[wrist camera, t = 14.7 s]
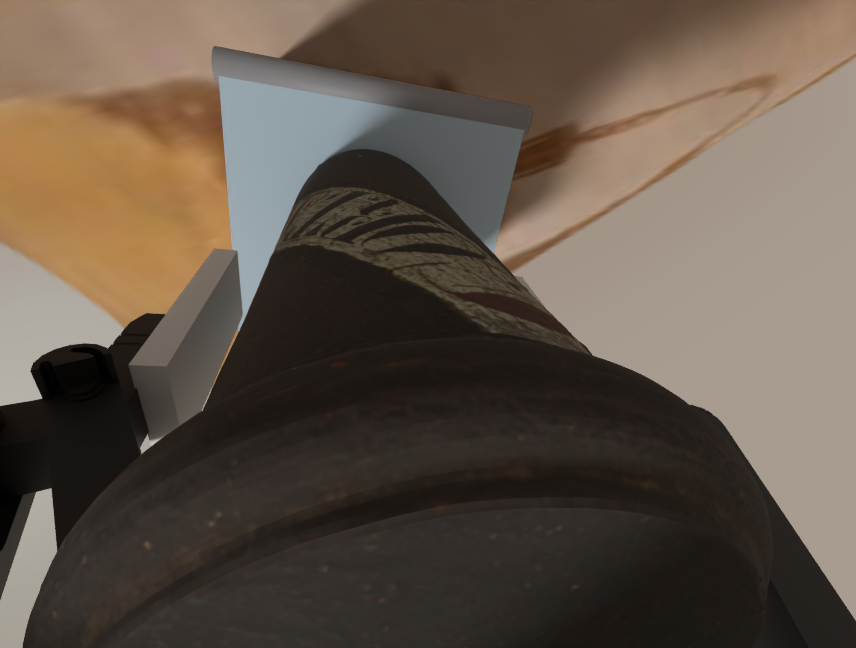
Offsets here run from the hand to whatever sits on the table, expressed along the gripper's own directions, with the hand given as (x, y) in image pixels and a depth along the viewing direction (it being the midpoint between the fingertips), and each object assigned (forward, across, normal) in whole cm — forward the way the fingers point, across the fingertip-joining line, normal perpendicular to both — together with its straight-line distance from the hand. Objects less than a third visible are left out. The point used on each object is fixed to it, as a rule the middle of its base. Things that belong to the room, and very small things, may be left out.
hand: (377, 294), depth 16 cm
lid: (+8, 0, 0) cm, 8 cm away
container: (+7, 0, 0) cm, 7 cm away
